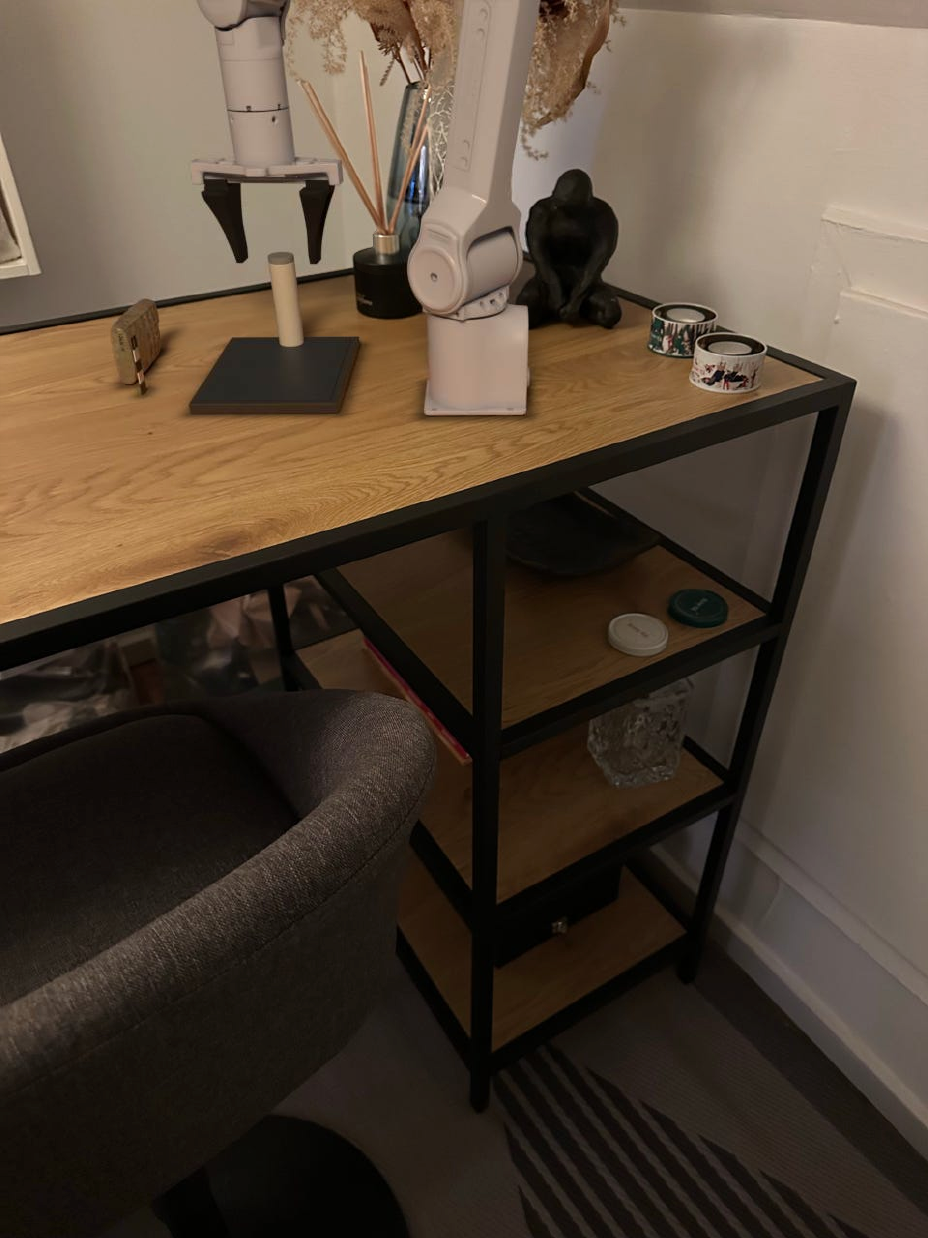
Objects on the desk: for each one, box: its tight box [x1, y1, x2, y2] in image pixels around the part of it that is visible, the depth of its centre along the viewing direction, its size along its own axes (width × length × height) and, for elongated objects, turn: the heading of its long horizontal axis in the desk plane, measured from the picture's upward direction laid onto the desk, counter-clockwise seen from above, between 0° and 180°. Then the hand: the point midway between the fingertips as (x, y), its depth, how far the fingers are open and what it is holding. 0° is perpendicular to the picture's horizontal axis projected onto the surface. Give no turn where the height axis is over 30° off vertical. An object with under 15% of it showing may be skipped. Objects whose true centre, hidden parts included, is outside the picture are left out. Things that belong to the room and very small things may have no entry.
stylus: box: [267, 251, 305, 347], centre depth 91 cm, size 3×3×9 cm
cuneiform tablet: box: [110, 298, 162, 396], centre depth 88 cm, size 6×4×12 cm
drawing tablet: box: [188, 336, 361, 415], centre depth 88 cm, size 14×18×1 cm
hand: (278, 261), depth 89 cm, fingers open, 7 cm apart
